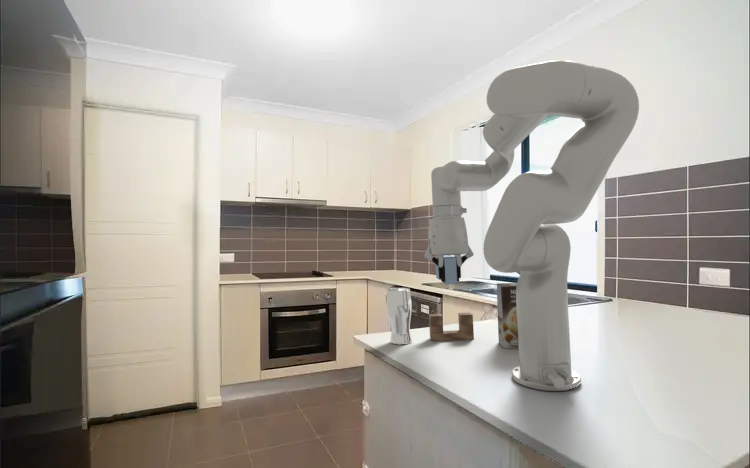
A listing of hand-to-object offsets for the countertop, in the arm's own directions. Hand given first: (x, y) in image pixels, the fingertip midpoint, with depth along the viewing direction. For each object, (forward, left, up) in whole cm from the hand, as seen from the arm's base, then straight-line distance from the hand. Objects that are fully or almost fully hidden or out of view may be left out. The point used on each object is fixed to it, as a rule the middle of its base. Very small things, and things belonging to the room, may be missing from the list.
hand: (449, 280), depth 105 cm
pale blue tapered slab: (+6, 0, -1) cm, 6 cm away
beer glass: (+6, +14, -18) cm, 23 cm away
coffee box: (-2, -17, -18) cm, 25 cm away
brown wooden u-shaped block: (+7, -1, -17) cm, 19 cm away
